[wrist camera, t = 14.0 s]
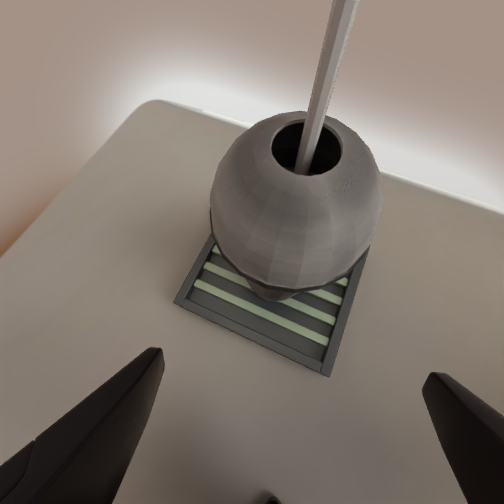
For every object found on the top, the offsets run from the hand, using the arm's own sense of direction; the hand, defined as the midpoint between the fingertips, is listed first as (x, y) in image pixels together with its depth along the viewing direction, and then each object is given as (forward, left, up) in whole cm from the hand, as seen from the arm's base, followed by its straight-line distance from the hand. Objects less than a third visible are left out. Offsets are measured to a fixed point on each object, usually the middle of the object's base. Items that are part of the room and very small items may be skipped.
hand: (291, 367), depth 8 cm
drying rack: (+5, -5, -13) cm, 15 cm away
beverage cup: (+4, -4, -12) cm, 14 cm away
